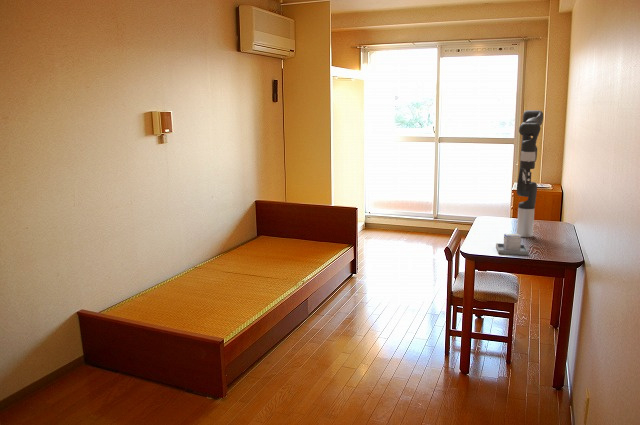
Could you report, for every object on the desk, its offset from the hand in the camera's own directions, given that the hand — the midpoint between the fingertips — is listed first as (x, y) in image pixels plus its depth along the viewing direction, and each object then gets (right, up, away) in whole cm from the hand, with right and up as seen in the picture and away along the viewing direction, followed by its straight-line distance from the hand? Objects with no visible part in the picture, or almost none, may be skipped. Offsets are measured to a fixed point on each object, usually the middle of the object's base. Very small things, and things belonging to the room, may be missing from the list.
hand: (525, 189), depth 290 cm
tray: (-9, -34, -4) cm, 35 cm away
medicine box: (-9, -34, -4) cm, 35 cm away
